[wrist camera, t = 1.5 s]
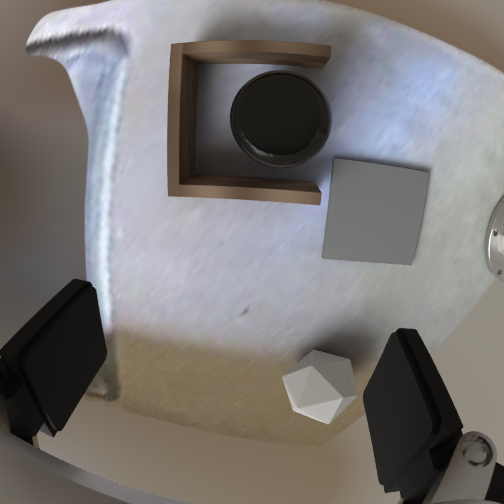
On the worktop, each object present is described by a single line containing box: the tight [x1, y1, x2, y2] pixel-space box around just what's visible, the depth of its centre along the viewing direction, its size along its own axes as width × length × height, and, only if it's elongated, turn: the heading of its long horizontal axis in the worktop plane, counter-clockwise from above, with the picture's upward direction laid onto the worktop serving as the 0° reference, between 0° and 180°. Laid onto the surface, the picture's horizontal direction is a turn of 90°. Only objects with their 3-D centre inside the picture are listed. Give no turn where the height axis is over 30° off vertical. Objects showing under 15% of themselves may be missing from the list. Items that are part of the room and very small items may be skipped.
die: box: [282, 349, 359, 424], centre depth 34 cm, size 8×9×10 cm
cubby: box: [167, 40, 331, 205], centre depth 25 cm, size 12×13×5 cm
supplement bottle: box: [230, 71, 332, 168], centre depth 21 cm, size 7×7×12 cm
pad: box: [322, 158, 429, 265], centre depth 29 cm, size 10×10×1 cm
